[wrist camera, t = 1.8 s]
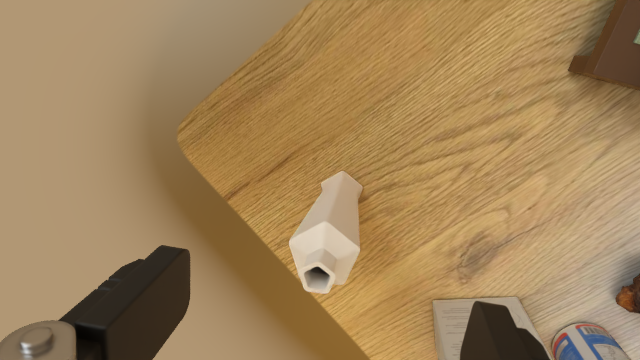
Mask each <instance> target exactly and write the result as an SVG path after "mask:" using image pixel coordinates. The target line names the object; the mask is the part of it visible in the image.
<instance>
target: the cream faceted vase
mask: <svg viewBox="0 0 640 360" xmlns="http://www.w3.org/2000/svg"><path fill="white" fill-rule="evenodd" d="M321 188H322V192H321V194H320V195H319V197H318V198H317V200H316V201H315V203H314V204H313V206H312V207H311V209H310V210H309V212H308V213H307V215H306V216H305V218H304V219H303V221H302V222H301V224H300V225H299V227H298V228H297V230H296V231H295V233H294V234H293V236H292V237H291V239H290V240H289V246H290V249H291V252H292V255H293V259H294V262H295V265H296V268H297V272H298V275H299V277H300V279H301V282H302V285H303V288H304V289H305V290H306V291H308V292H315V293H322V294H327V293H329V291H330V289H331V287H332V285H333V284H337V285H343V284H344V283H345V282H346V280H347V278H348V275H349V273H350V271H351V269H352V267H353V265H354V263H355V261H356V259H357V257H358V255H359V253H360V238H359V214H358V199H359V196H360V194H361V192H362V190H363V187H362V185H360V184H359V183H358V182H357V181H356V180H354V179H353V178H352V177H351V176H350V175H348V174H347V173H346V172H345V171H340V172H339V173H337V174H335V175H333V176H332V177H330V178H328V179H326V180H325V181H323V182H322V183H321Z"/></svg>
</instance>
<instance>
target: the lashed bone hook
mask: <svg viewBox="0 0 640 360" xmlns="http://www.w3.org/2000/svg"><path fill="white" fill-rule="evenodd" d="M633 281H634V283H633V284H632V285H630V286H625V287H624V286H623V287H622V289H621V291H620V293H619V294H618V295H617V297H616V302H617V304H618V305H620V306H621V307H623V308H625V309H626V310H628V311H629V312H634V313H640V274H639V276H637V277H635V278H634V279H633Z"/></svg>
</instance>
